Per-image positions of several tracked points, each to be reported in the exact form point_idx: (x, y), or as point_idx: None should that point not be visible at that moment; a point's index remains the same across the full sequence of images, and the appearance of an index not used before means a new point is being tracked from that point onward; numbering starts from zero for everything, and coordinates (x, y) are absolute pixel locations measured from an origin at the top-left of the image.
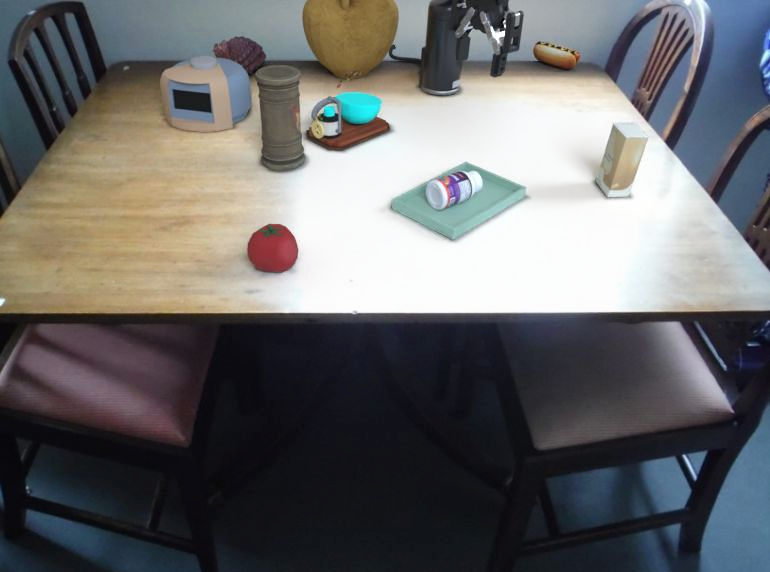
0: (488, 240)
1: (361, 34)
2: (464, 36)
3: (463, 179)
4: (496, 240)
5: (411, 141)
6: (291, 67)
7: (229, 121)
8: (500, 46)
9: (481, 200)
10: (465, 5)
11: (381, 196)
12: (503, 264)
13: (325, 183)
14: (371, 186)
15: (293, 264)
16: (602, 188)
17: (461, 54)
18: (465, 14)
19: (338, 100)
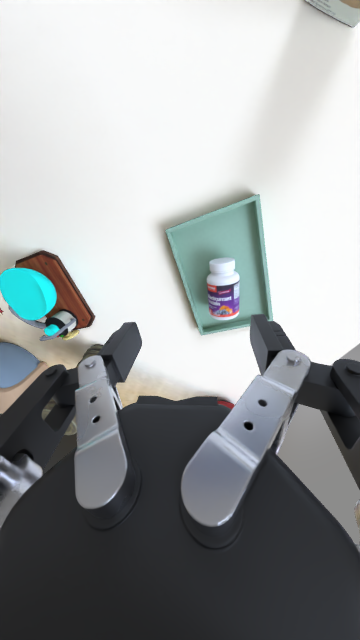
0: (292, 291)
1: None
2: (113, 376)
3: (232, 290)
4: (298, 284)
5: (84, 246)
6: (42, 412)
7: (42, 368)
8: (297, 403)
9: (236, 256)
10: (32, 479)
11: (180, 327)
12: (329, 302)
13: (145, 349)
14: (161, 325)
15: (234, 405)
16: (334, 13)
17: (135, 348)
18: (34, 410)
19: (52, 338)
